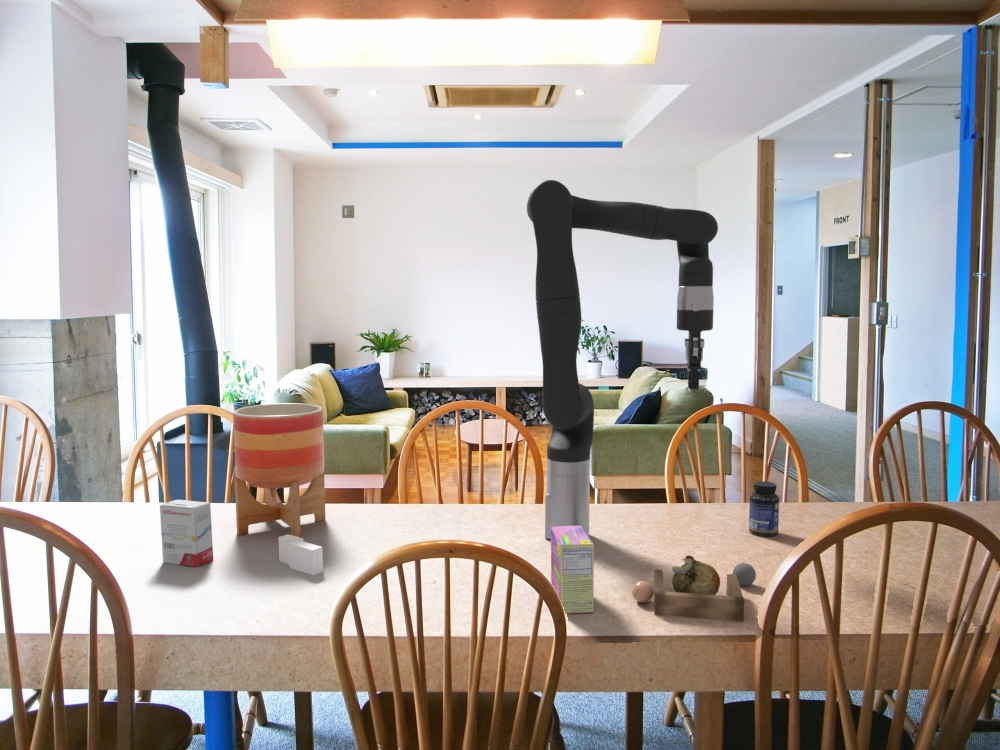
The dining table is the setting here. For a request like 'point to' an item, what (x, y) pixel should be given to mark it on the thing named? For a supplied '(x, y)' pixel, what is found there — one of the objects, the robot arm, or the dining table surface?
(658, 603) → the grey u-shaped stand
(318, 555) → the white stepped block
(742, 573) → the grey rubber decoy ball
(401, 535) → the dining table surface
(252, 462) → the planter
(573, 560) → the box
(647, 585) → the glossy pink ball
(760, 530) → the pill bottle
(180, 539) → the ink box
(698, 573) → the onion
